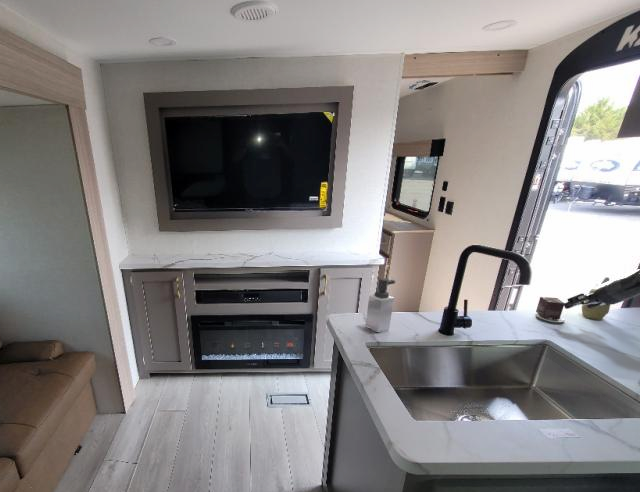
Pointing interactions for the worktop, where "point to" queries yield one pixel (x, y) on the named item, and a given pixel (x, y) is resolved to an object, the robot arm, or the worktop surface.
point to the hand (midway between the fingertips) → (576, 306)
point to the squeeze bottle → (596, 311)
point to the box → (550, 307)
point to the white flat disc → (550, 320)
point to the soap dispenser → (380, 307)
